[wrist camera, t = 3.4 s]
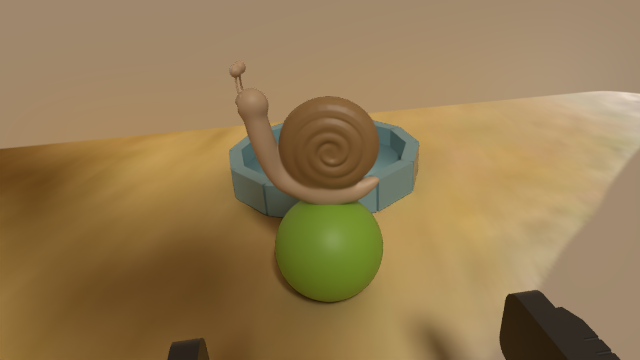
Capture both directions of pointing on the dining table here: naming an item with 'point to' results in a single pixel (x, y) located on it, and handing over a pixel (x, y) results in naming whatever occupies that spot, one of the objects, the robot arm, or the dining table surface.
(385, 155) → the dish
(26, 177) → the dining table surface
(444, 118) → the dining table surface
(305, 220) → the snail figurine
